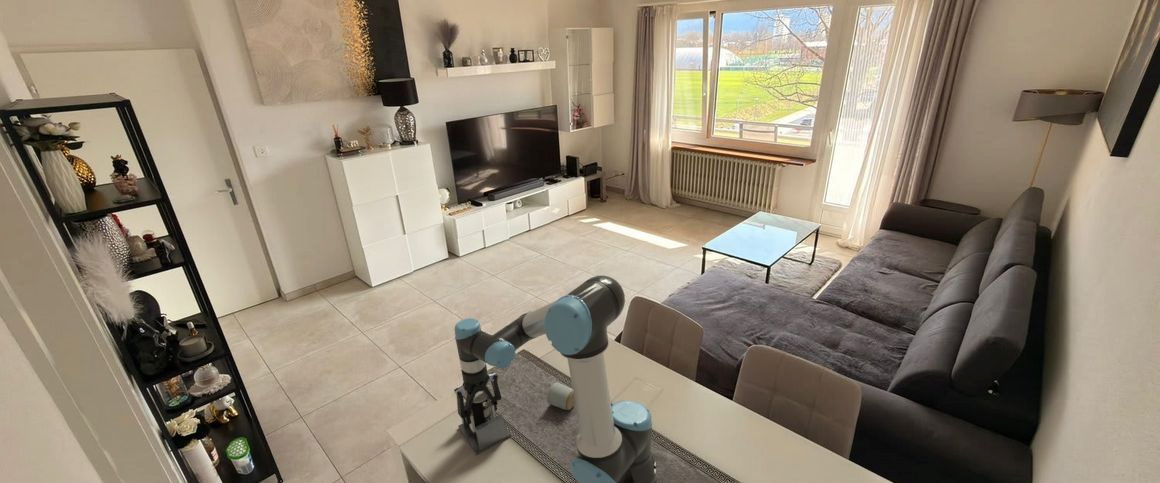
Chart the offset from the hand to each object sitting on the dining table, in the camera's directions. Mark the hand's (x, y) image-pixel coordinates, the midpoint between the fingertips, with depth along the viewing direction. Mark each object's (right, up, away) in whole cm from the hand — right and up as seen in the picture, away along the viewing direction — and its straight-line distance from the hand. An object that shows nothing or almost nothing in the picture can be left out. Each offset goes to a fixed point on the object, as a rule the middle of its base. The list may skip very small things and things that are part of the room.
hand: (483, 424), depth 154 cm
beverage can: (0, -1, 0) cm, 1 cm away
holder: (0, -3, +1) cm, 3 cm away
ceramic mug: (+26, +3, +13) cm, 29 cm away
